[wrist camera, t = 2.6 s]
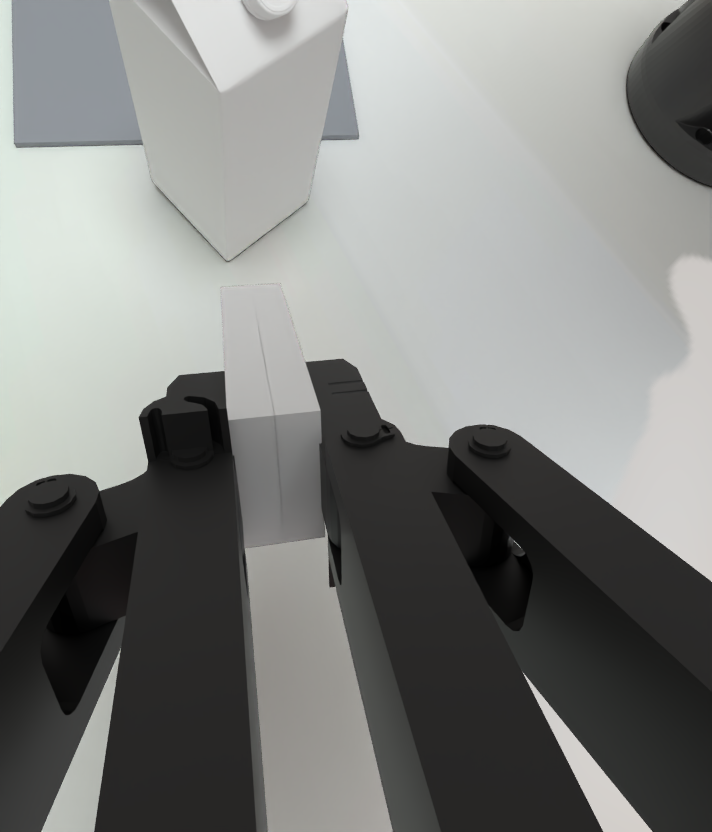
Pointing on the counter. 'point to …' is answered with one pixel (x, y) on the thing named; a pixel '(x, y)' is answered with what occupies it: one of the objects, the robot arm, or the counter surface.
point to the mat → (98, 79)
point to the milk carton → (231, 105)
